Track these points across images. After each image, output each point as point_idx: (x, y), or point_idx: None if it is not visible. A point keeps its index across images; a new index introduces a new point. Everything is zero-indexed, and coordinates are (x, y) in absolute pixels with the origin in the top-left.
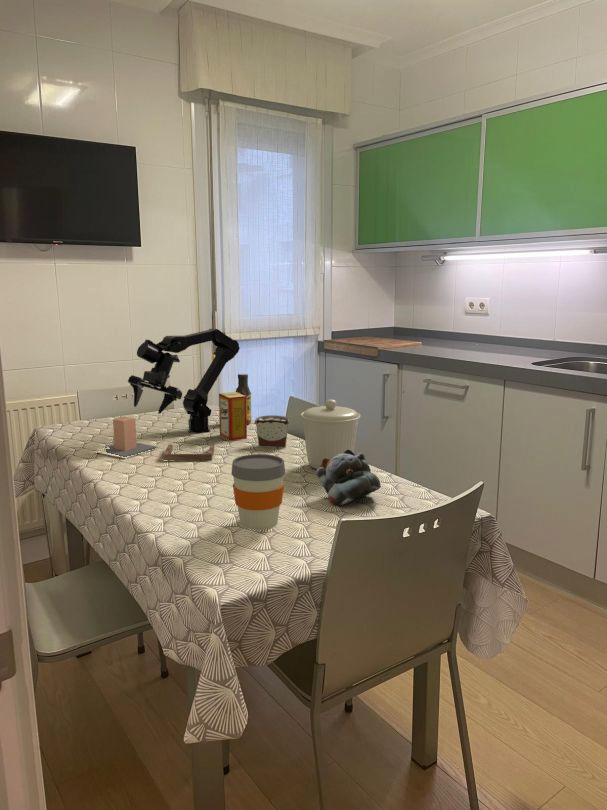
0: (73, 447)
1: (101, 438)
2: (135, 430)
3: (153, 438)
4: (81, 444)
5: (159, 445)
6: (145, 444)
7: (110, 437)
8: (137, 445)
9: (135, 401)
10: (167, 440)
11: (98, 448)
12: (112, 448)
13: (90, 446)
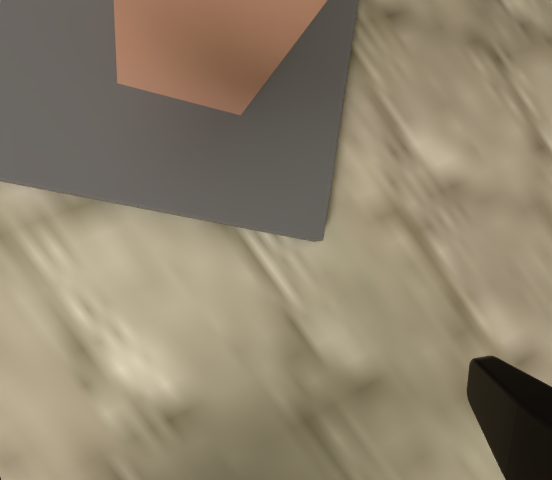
0: (541, 42)
1: (539, 288)
2: (115, 1)
3: (218, 468)
4: (546, 117)
5: (23, 297)
6: (104, 193)
7: (509, 336)
8: (150, 140)
9: (542, 407)
10: (56, 476)
11: (403, 63)
12: None
13: (475, 92)
